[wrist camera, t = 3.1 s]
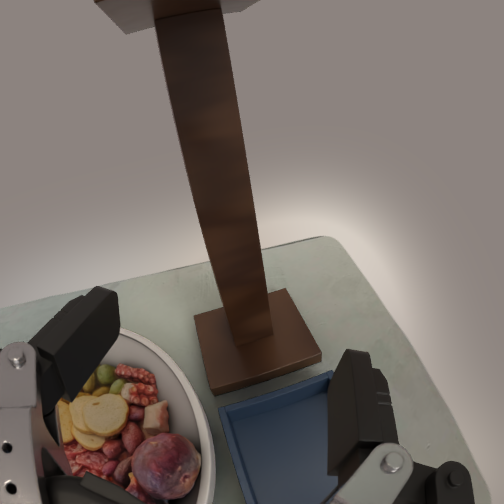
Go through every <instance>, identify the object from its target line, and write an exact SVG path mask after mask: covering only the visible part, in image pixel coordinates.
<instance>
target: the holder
mask: <svg viewBox="0 0 504 504" xmlns="http://www.w3.org/2000/svg"><path fill="white" fill-rule="evenodd" d="M333 374H334V373H333V371H332V370H330V371H328V372H326V373H323V374H320V375H318V376H315V377H312V378H310V379H307V380H304V381H302V382H299V383H296V384H293V385H291V386H288V387H285V388H282V389H279V390H276V391H273V392H270V393H267V394H264V395H261V396H258V397H255V398H251V399H248V400H245V401H241V402H238V403H235V404H231V405H228V406H225V407H220V408H218V411H219V415H220V419H221V422H222V426H223V429H224V433H225V437H226V440H227V443H228V447H229V450H230V454H231V457H232V460H233V464H234V467H235V470H236V473H237V477H238V480H239V483H240V486H241V489H242V492H243V495H244V498H245V501H246V504H319V503H320V502H321V501H322V500H323V499H324V498H325V497H326V496H327V495H328V494H329V493H330V492H331V491H332V490H333V489H334V488H335V487H336V486H337V485H338V476H328V475H327V454H328V405H327V393H328V387H329V383H330V380H331V378H332V376H333Z"/></svg>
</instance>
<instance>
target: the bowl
mask: <svg viewBox="0 0 504 504" xmlns="http://www.w3.org/2000/svg"><path fill="white" fill-rule="evenodd" d="M27 343H28V342H27ZM57 404H58V408H59V416H60V424H61V431H62V438H63V444H64V450H65V454H66V457H67V459H68V461H69V464H70V466H71V469H72V473H73V476H79V477H83V476H84V474H85V472H86V471H88V472H90V473H92V474H94V475H96V476H98V477H101V478H103V479H105V480H107V481H109V482H112V483H114V484H116V485H118V486H121V487H122V488H123V489H125V490H126V491H128V492H129V493H131V494H132V495H134V496H135V497H137V498H138V499H140V500H141V501H143V502H144V503H146V504H212V503H213V498H214V491H215V479H216V464H215V452H214V445H213V439H212V434H211V430H210V426H209V423H208V420H207V417H206V414H205V411H204V409H203V406H202V404H201V402H200V400H199V398H198V396H197V394H196V392H195V390H194V388H193V387H192V385H191V383H190V382H189V380H188V379H187V377H186V375H185V374H184V372H183V371H182V370H181V369H180V367H179V366H178V365H177V364H176V362H175V361H174V360H173V359H172V358H171V357H170V356H169V355H168V354H167V353H166V352H165V351H163V350H162V349H161V348H160V347H159V346H157V345H156V344H155V343H153V342H152V341H150V340H148V339H147V338H145V337H143V336H141V335H139V334H137V333H135V332H132V331H129V330H127V329H123V328H120V333H119V336H118V338H117V340H116V342H115V343H114V344H113V346H112V347H111V349H110V350H109V351H108V353H107V354H106V355H105V357H104V358H103V360H102V361H101V362H100V364H99V365H98V366H97V368H96V369H95V371H94V372H93V374H92V375H91V376H90V378H89V379H88V381H87V382H86V383H85V385H84V386H83V388H82V389H81V391H80V392H79V393H78V395H77V396H76V398H75V399H74V401H73V402H72V403H71V402H69V401H67V400H65V399H63V398H61V399H60V400H59V401H58V403H57Z"/></svg>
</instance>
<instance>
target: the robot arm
mask: <svg viewBox="0 0 504 504" xmlns="http://www.w3.org/2000/svg"><path fill="white" fill-rule="evenodd" d="M119 333H120V316H119V305H118V296H117V293H116V292H115V291H112V290H109V289H106V288H102V287H99V286H96V287H94V288H93V289H92V290H91V291H90V292H89V293H88V294H87V295H86V296H83V295H81V296H79V297H77V298H75V299H73V300H71V301H69V302H68V303H67V304H66V305H65V306H64V307H63V308H62V309H61V311H59V312H58V313H57V314H56V315H55V316H54V318H52V319H51V320H50V321H49V322H48V323H47V324H46V325H45V326H44V327H43V328H42V329H41V330H40V331H39V332H38V333H37V334H36V335H35V336H34V337H33V338H32V339H31V340H30V341H29V342H28V343H25V342H15V343H11V344H9V345H7V346H6V347H5V348H3V349H0V504H146V503H144V502H143V501H141V500H140V499H138V498H137V497H135V496H134V495H132V494H131V493H129V492H128V491H126V490H125V489H123V488H122V487H121V486H118V485H116V484H114V483H112V482H109V481H107V480H105V479H103V478H101V477H98V476H96V475H94V474H92V473H90V472H88V471H86V472H85V474H84V476H83V477H79V476H73V473H72V469H71V466H70V464H69V461H68V459H67V457H66V454H65V450H64V444H63V438H62V431H61V424H60V416H59V408H58V404H57V403H58V401H59V400H60V399H61V398H63V399H65V400H67V401H69V402H71V403H72V402H73V401H74V399H75V398H76V396H77V395H78V393H79V392H80V391H81V389H82V388H83V386H84V385H85V383H86V382H87V381H88V379H89V378H90V376H91V375H92V374H93V372H94V371H95V369H96V368H97V366H98V365H99V364H100V362H101V361H102V360H103V358H104V357H105V355H106V354H107V353H108V351H109V350H110V349H111V347H112V346H113V344H114V343H115V342H116V340H117V338H118V336H119ZM389 394H390V392H389V388H388V383H387V380H386V378H385V377H384V375H383V374H382V372H381V371H380V369H375V368H372V364H371V359H370V355H369V353H368V352H363V351H357V350H351V349H346V350H345V352H344V354H343V356H342V358H341V360H340V362H339V364H338V366H337V368H336V370H335V372H334V374H333V376H332V378H331V380H330V383H329V387H328V393H327V405H328V454H327V475H328V476H338V485H337V486H336V487H335V488H334V489H333V490H332V491H331V492H330V493H329V494H328V495H327V496H326V497H325V498H324V499H323V500H322V501H321V502H320V503H319V504H475V502H474V495H473V488H472V482H471V477H470V474H469V472H468V470H467V469H466V467H465V466H463V465H462V464H461V463H458V462H455V461H448V462H445V463H444V464H442V465H441V466H440V467H439V468H433V467H429V466H426V465H422V464H419V463H416V462H414V461H413V460H412V457H411V455H410V453H409V452H408V451H407V450H406V449H405V448H404V447H402V446H400V445H399V442H398V436H397V430H396V424H395V418H394V413H393V408H392V406H391V404H392V402H391V397H390V396H389Z"/></svg>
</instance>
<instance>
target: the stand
mask: <svg viewBox="0 0 504 504" xmlns="http://www.w3.org/2000/svg"><path fill="white" fill-rule="evenodd" d="M258 1H260V0H94V3H96V5H98V7H99V8H101V10H102V11H103V12H104V13H105V14H106V15H107V16H108V17H109V18H110V19H111V20H112V21H113V22H114V23H115V24H116V25H117V26H118V27H119V28H120V29H121V30H122V31H123V32H124V33H125V34H130V33H133V32H137V31H140V30H144V29H147V28H152V27H155V32H156V37H157V43H158V48H159V53H160V58H161V63H162V68H163V72H164V77H165V82H166V86H167V91H168V96H169V100H170V105H171V109H172V113H173V118H174V123H175V127H176V131H177V135H178V140H179V144H180V148H181V152H182V156H183V160H184V164H185V169H186V172H187V176H188V181H189V185H190V188H191V192H192V196H193V200H194V204H195V208H196V211H197V215H198V219H199V223H200V227H201V230H202V234H203V238H204V241H205V245H206V249H207V252H208V255H209V259H210V263H211V266H212V270H213V273H214V277H215V280H216V284H217V287H218V291H219V294H220V298H221V301H222V304H223V307H222V308H218V309H215V310H212V311H208V312H205V313H201V314H198V315H194V320H195V325H196V329H197V334H198V339H199V343H200V348H201V352H202V356H203V361H204V365H205V369H206V373H207V378H208V382H209V386H210V389H211V391H212V393H213V395H214V396H216V395H220V394H224V393H227V392H231V391H234V390H238V389H241V388H244V387H248V386H251V385H254V384H257V383H260V382H263V381H267V380H270V379H273V378H276V377H279V376H281V375H284V374H287V373H290V372H293V371H296V370H298V369H301V368H304V367H307V366H309V365H312V364H315V363H317V362H320V361H321V358H322V352H321V350H320V349H319V347H318V345H317V343H316V341H315V340H314V338H313V336H312V334H311V333H310V331H309V329H308V327H307V325H306V324H305V322H304V320H303V318H302V316H301V315H300V313H299V311H298V309H297V307H296V306H295V304H294V302H293V300H292V299H291V297H290V295H289V293H288V291H287V290H286V288H284V289H281V290H278V291H274V292H271V293H267V286H266V279H265V273H264V266H263V260H262V253H261V247H260V240H259V234H258V227H257V221H256V214H255V208H254V202H253V196H252V189H251V183H250V177H249V170H248V164H247V158H246V151H245V145H244V139H243V133H242V127H241V121H240V115H239V109H238V102H237V96H236V90H235V84H234V78H233V72H232V67H231V60H230V55H229V49H228V43H227V37H226V31H225V25H224V20H223V14H225V13H233V12H241V11H243V10H245V9H246V8H248V7H249V6H251V5H253V4H254V3H256V2H258Z"/></svg>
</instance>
